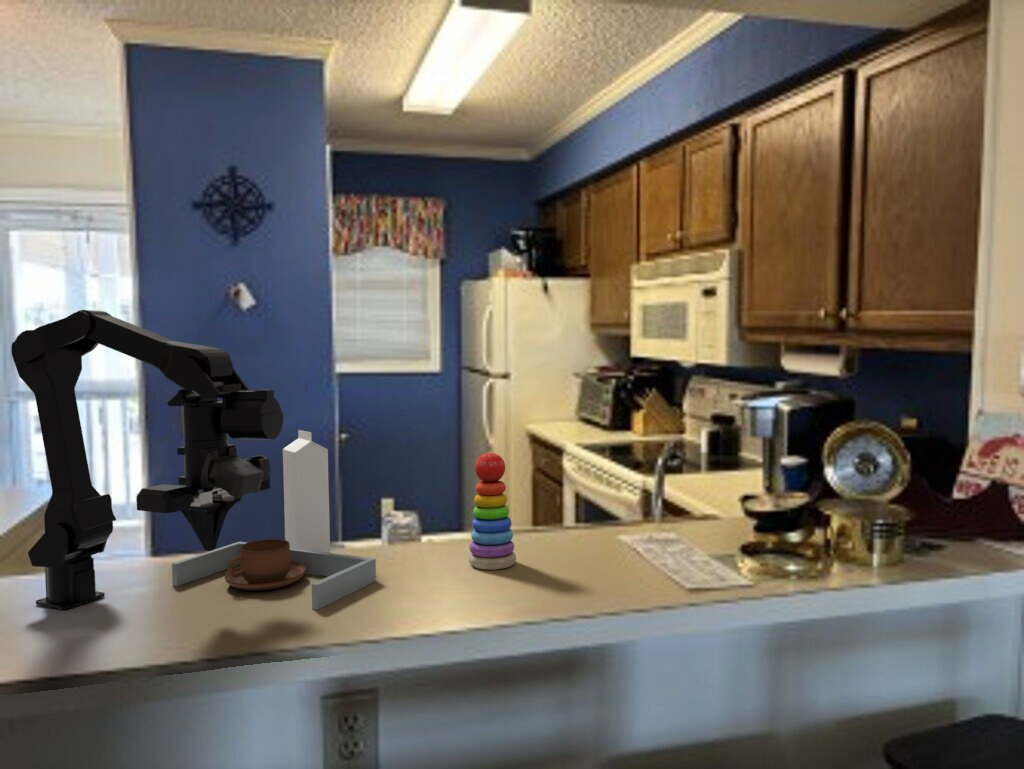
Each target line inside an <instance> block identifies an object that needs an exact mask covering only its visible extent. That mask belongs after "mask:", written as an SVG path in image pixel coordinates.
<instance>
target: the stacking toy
mask: <svg viewBox="0 0 1024 769" xmlns="http://www.w3.org/2000/svg"><path fill="white" fill-rule="evenodd" d="M474 471H475V474H476V475H477V477H478V479H479V480H481V481H479V482H477V483H476V486H475V491H476V493H478V494H476V495H475V496H474V498H473V504H474V505H475V506H474V508H473V511H472V513H473V516H474V517H475V518H473V520H472V523H471V525H472V528H473V530H472V532H471V535H470V536H471V540H472V541H471V542H470V544H469V551H470V553H469V556H468V563H469V564H470V565H471V566H472V567H473V568H476V569H480V570H492V571H493V570H494V571H495V570H502V569H506V568H510V567H512V566H513V565H514V564H515V563H516V561H517V556H516V553H515V552H514V550H515V544H514V542H513V541H512V539H513V537H514V532H513V530H512V529H511V527H512V520H511V517H510V516H509V513H510V509H509V507H508V505H506V504H507V502H508V497H507V495H506V494H504V493H505V491H506V490H507V489H506V487H507V486H506V484H505V482H503V481H502V480H501V479H502V478H503V477H504V475H505V473H506V463H505V460H504V458H502V456H500V455H499V454H498V453H495V452H486V453H484V454H481V455H480V456H479V457H478V458H477V460H476V461H475V465H474Z"/></svg>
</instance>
